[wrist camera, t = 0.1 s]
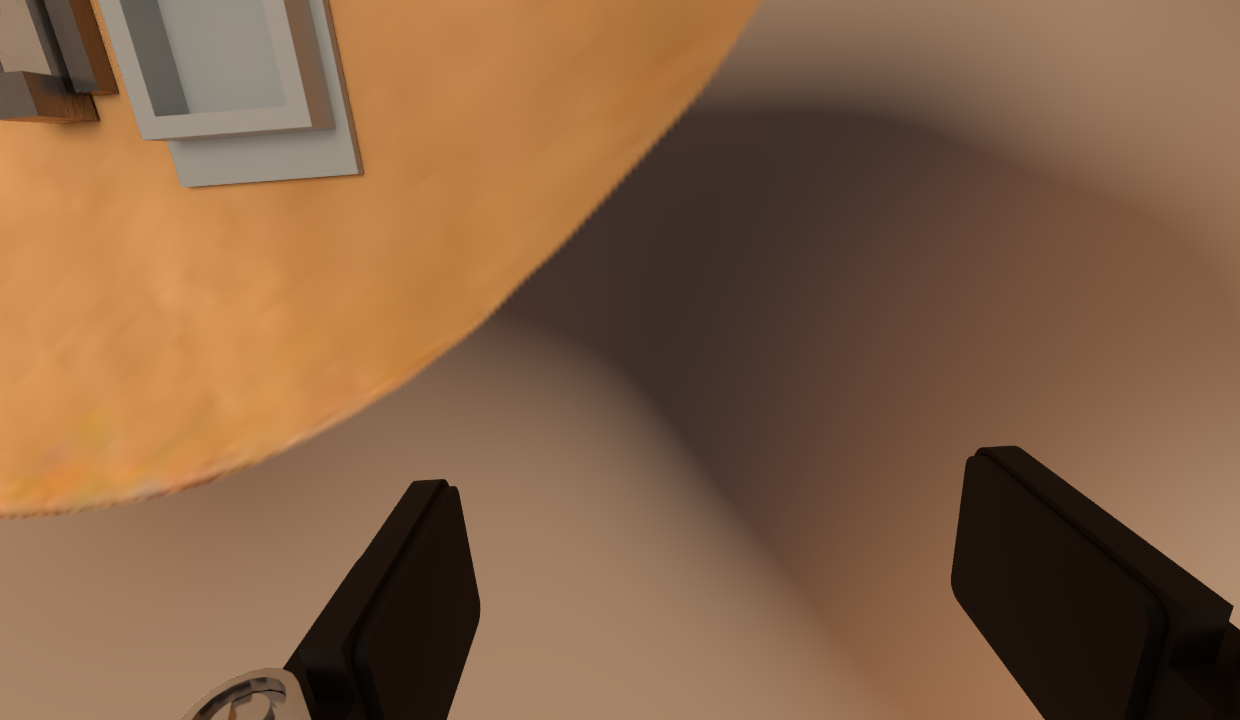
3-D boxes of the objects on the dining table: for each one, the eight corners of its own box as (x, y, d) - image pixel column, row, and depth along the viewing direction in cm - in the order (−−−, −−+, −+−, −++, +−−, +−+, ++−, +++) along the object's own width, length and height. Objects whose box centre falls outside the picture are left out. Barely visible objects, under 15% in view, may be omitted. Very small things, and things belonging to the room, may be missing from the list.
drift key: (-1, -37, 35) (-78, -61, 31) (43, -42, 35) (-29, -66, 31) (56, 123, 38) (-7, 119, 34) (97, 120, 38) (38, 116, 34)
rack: (105, -97, 34) (42, -127, 30) (304, -117, 34) (264, -150, 30) (190, 186, 39) (145, 189, 36) (363, 173, 39) (336, 175, 35)
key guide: (-30, -43, 35) (-58, -52, 34) (71, -53, 35) (48, -62, 33) (24, 101, 38) (0, 99, 36) (119, 93, 37) (98, 90, 36)
